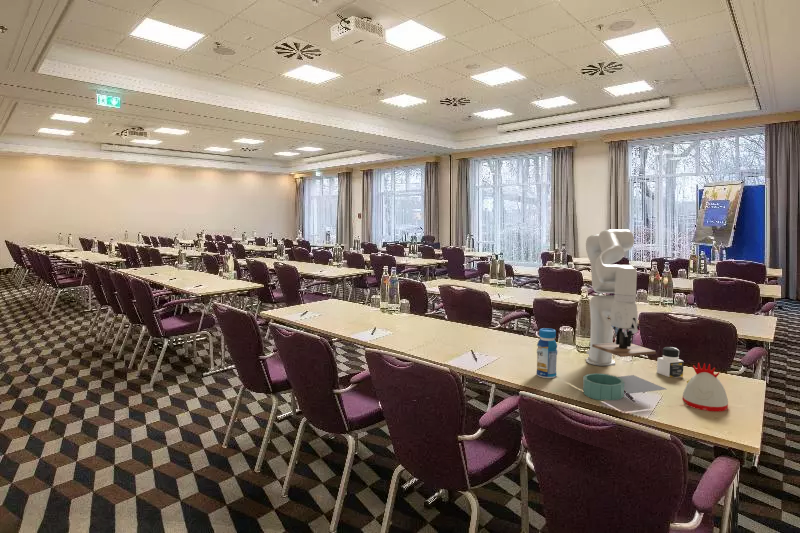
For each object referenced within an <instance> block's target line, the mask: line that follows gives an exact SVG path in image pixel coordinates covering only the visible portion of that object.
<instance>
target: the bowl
mask: <svg viewBox="0 0 800 533" xmlns="http://www.w3.org/2000/svg"><path fill="white" fill-rule="evenodd" d="M619 377H620V376H616V375H612V374H607V373H596V372H595V373H588V374H585V375H583V377H582V378H583V379H582V383H583V384H582V391H583V394H584V396H586V397H587V398H590V399H593V400H596V401H601V402H604V401H618V400H622V399H623V398H624V397H625V392H624V381H623V379H621V378H619Z"/></svg>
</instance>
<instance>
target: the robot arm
mask: <svg viewBox="0 0 800 533" xmlns="http://www.w3.org/2000/svg"><path fill="white" fill-rule="evenodd" d="M634 245H635V236H634V233H633V232H632V231H631V230H629V229H605V230H602V231H601V232H600V233H599V234H591V235H588V237H587V238H586V240H585V250H586V254H587V257H588V259H589V262H590V268H591V269H590V272H591V286H592V291H594V292H595V293H600V295H593V296H592V297H591V298H590V300H589V311H590V312H589V313H590V340H589V350H587V351H586V354H587V355H588V357H586V358H585V361H586V363H588V364H590V365H594V366H597V367H598V366H599V367H611V366H615V365H616V360H614V359H613V354H612V353H609V352H606V351H603V350H600V349H597V348H594V347H592V344H602V343H614V342H613V341H614V340H613V339H614V338H613V337H614V334H615V342H616V344H617V345H619V336H620V332H624V334H625V337H623V347H630V346H631V344H632V337H633V335H634V334H637V333H638V332H639V330H638V321H639V320H638V318H639V317H638V316H639V314H638V306H637V302H636V300H637V280H638V278H637V277H638V273H637V272H638V270H637V268H635V267H634V266H633V265H629V264H615V263H617V262H620V261H621V260H622V259H623V258H624V256H625V252H628V251H629V250H631V249H632V248H633V247H634ZM602 294H603V295H602ZM605 294H606V295H605ZM607 294H613V295H607ZM608 317H609V318H608Z"/></svg>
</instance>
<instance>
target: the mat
mask: <svg viewBox="0 0 800 533" xmlns="http://www.w3.org/2000/svg"><path fill="white" fill-rule="evenodd" d="M618 377H619V378H621V379H623V381H624V390H625V391H626V392H627V393H626V392H625V393H626V394H636V393H637V394H638V393H646V392H647V393H648V392H654V391H664V390H667V388H666V387H663V386H661V385H660V384H659V385H658V384H656V383H654V382H652V381H648V380H646V379H644V378H643V377H639V376H637V375H634V374H631V375H623V376H621V375H620V376H618Z"/></svg>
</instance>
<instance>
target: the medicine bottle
mask: <svg viewBox="0 0 800 533" xmlns="http://www.w3.org/2000/svg"><path fill="white" fill-rule="evenodd" d="M679 356H680V350H679V349H678V348H677V347H673V346H665V347H663V348H662V357H657V358H656V359H657V361H656V362H657V365H656V373H657V374H660V375H662V376H665V377H667V378H673V379H674V378H675V379H677V378H683V376H684V360H682V359H680V357H679Z"/></svg>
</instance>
